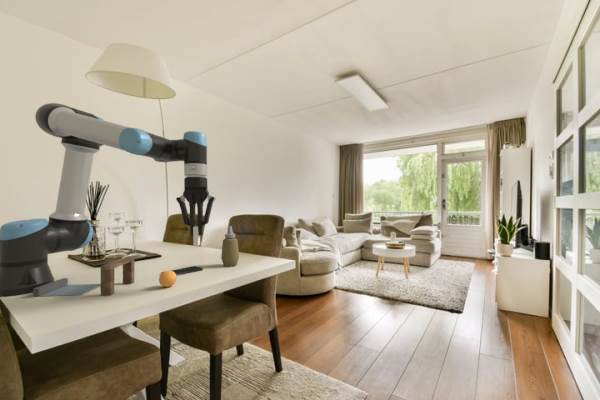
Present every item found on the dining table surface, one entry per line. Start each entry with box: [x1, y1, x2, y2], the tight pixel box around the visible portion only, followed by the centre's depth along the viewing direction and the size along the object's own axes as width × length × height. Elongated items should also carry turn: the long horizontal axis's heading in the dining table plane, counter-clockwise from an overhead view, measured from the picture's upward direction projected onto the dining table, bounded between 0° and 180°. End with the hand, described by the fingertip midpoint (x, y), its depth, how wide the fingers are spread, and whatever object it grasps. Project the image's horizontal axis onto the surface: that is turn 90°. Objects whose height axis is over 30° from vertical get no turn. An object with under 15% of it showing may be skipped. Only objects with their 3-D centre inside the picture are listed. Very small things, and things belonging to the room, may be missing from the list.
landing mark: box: [39, 283, 101, 298], centre depth 92 cm, size 12×12×1 cm
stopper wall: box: [32, 277, 69, 298], centre depth 92 cm, size 2×12×2 cm, turn 5°
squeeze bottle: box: [220, 225, 240, 267], centre depth 127 cm, size 8×8×18 cm
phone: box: [160, 265, 204, 276], centre depth 116 cm, size 8×1×15 cm
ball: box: [158, 270, 177, 288], centre depth 95 cm, size 6×6×6 cm
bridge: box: [100, 256, 135, 297], centre depth 94 cm, size 3×14×9 cm, turn 5°
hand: (196, 245), depth 96 cm, fingers closed
